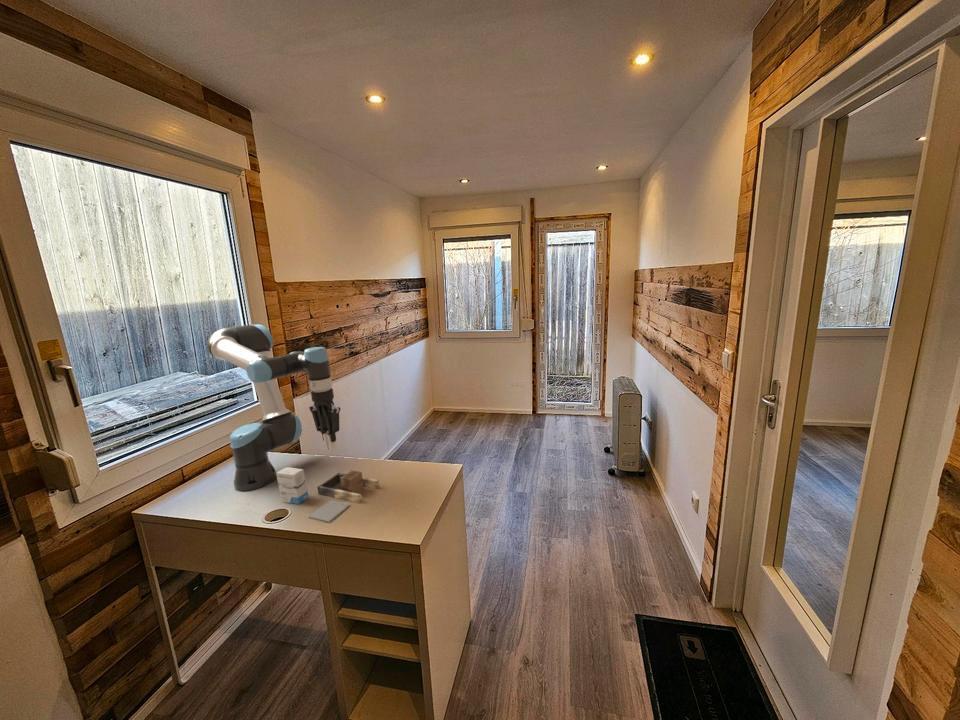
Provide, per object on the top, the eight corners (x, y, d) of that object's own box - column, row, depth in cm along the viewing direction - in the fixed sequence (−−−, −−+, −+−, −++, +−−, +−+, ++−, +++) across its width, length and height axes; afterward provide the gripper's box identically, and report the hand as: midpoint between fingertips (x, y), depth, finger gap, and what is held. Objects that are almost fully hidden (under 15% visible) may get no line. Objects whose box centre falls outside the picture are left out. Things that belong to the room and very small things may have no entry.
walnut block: (342, 494, 141) (340, 478, 140) (353, 486, 146) (351, 470, 145) (353, 497, 139) (350, 480, 138) (363, 488, 144) (361, 472, 143)
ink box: (309, 497, 141) (304, 468, 138) (299, 504, 136) (293, 475, 134) (291, 494, 144) (286, 466, 141) (280, 501, 139) (275, 472, 137)
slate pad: (308, 517, 128) (308, 516, 128) (330, 501, 137) (330, 500, 137) (328, 523, 124) (328, 521, 124) (350, 506, 133) (349, 504, 133)
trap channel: (318, 494, 142) (317, 486, 142) (339, 479, 152) (338, 472, 152) (360, 503, 135) (359, 495, 134) (379, 487, 144) (378, 480, 144)
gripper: (298, 391, 137) (309, 451, 142) (328, 393, 131) (338, 455, 136) (315, 385, 144) (324, 442, 149) (344, 387, 138) (352, 447, 143)
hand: (331, 449), depth 142 cm, fingers closed
